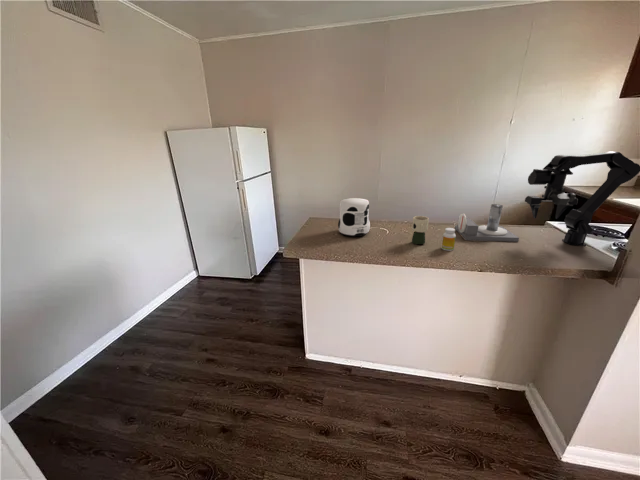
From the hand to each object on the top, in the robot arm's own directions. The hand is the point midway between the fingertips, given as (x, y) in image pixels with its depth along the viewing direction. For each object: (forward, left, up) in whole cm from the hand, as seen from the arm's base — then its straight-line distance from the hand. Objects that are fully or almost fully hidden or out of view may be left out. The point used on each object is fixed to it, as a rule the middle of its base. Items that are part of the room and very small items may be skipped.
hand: (545, 218), depth 126 cm
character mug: (+57, +6, -12) cm, 59 cm away
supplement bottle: (+45, +12, -12) cm, 48 cm away
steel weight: (+18, -9, -9) cm, 22 cm away
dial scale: (+21, -9, -12) cm, 26 cm away
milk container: (+89, -6, -12) cm, 90 cm away
